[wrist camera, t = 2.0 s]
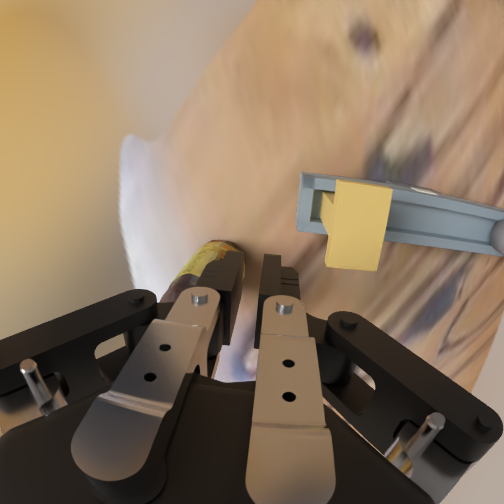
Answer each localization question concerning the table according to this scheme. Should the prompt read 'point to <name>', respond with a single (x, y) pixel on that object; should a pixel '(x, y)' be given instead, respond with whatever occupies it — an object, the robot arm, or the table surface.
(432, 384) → the robot arm
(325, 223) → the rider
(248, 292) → the table surface
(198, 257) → the sauce bottle
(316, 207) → the beam
